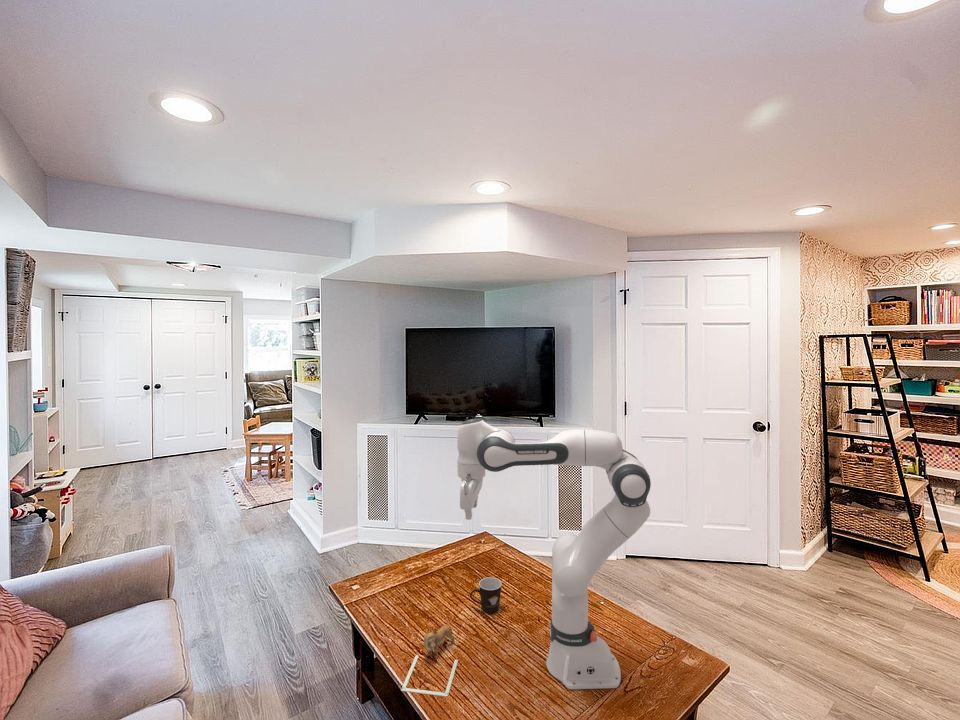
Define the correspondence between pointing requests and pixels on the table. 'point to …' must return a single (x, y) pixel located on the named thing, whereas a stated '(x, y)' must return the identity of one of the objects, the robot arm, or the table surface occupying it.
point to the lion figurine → (437, 639)
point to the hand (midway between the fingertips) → (471, 512)
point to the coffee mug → (489, 594)
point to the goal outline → (425, 690)
